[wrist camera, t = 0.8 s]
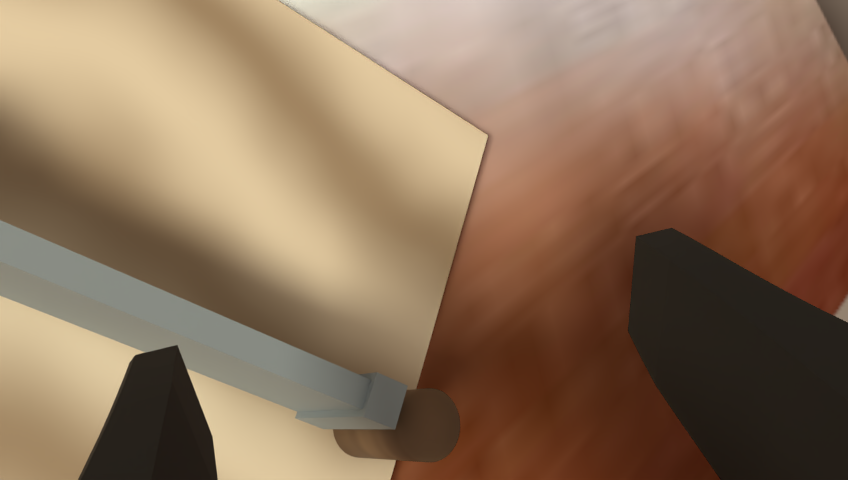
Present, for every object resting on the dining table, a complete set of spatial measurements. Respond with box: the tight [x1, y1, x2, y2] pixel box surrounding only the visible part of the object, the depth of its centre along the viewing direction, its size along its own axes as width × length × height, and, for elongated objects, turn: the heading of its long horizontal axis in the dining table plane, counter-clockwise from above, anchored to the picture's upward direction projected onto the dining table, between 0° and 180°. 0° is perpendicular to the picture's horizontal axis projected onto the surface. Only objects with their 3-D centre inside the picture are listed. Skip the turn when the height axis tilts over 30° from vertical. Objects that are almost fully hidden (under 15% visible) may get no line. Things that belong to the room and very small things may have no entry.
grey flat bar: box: [0, 220, 408, 430], centre depth 20 cm, size 14×1×4 cm, turn 71°
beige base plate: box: [0, 0, 488, 480], centre depth 21 cm, size 20×20×6 cm
